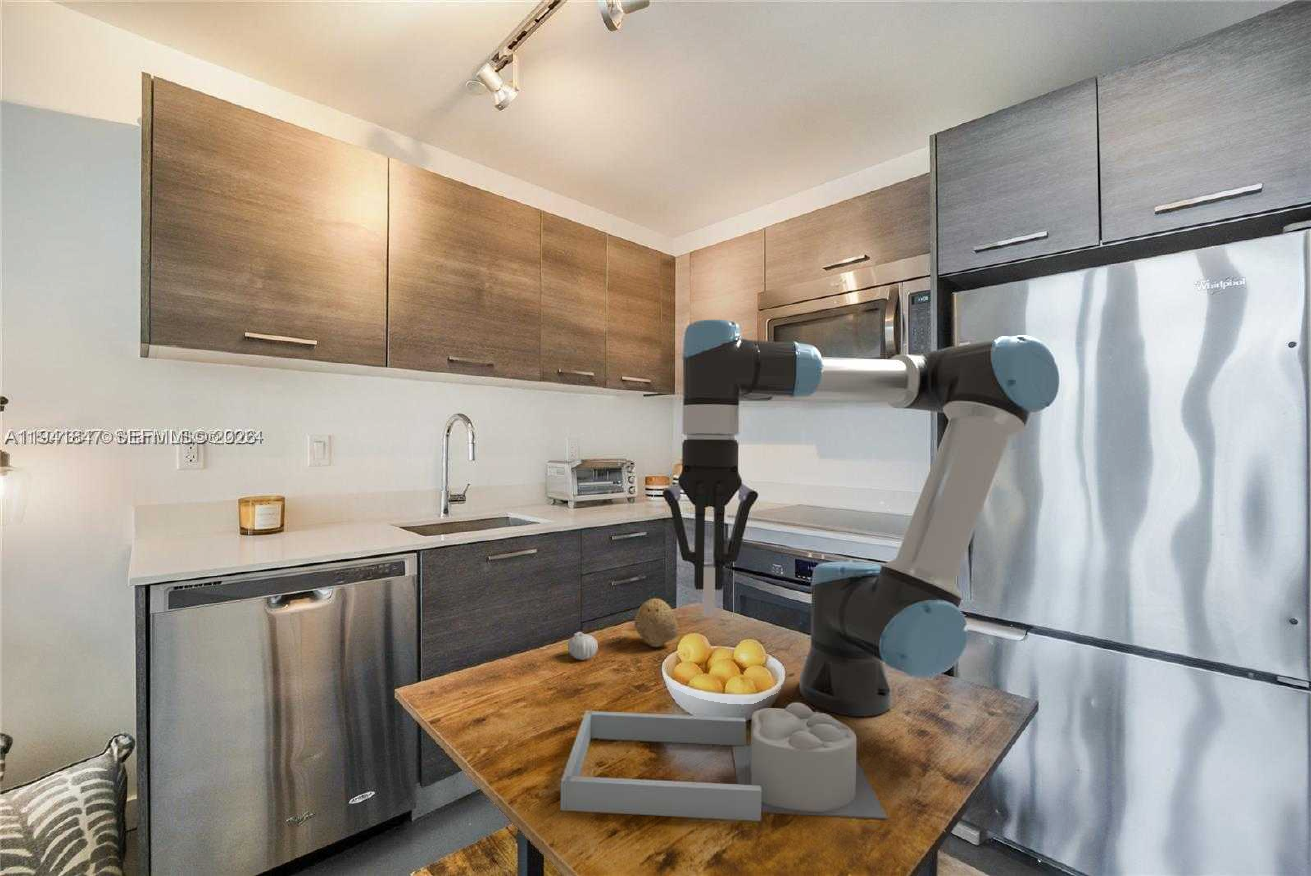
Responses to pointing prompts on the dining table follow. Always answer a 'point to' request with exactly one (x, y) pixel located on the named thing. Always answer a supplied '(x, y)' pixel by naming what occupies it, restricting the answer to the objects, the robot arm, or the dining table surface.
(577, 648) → the garlic
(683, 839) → the dining table surface
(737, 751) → the mat
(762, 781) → the lumpy-topped squat cylinder
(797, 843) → the dining table surface
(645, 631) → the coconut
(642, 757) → the dining table surface
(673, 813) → the low rectangular rim
